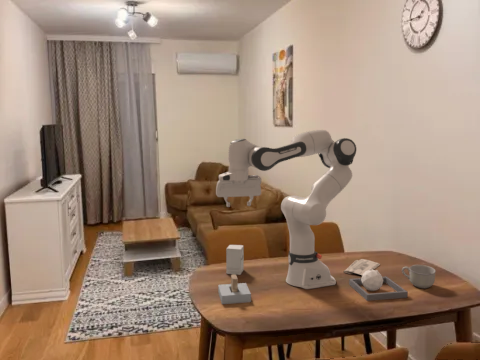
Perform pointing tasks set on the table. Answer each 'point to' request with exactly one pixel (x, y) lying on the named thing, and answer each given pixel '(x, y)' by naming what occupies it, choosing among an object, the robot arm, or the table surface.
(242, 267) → the supplement box
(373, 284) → the decorative ball
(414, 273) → the teacup
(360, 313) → the table surface
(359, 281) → the grey rectangular frame
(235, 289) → the wooden peg
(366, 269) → the newspaper
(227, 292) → the grey peg hole block
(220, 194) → the robot arm
